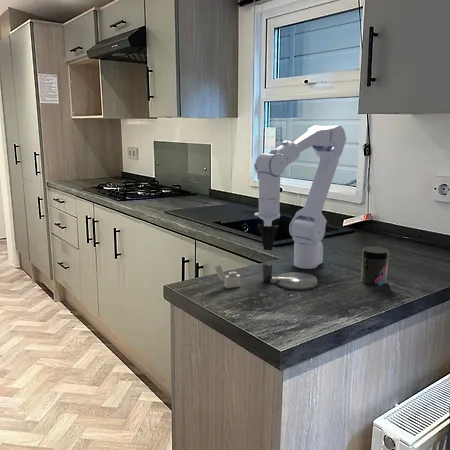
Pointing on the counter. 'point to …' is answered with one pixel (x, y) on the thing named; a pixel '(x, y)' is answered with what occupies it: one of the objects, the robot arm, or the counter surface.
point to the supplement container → (374, 266)
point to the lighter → (228, 277)
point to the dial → (289, 279)
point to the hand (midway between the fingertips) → (268, 245)
